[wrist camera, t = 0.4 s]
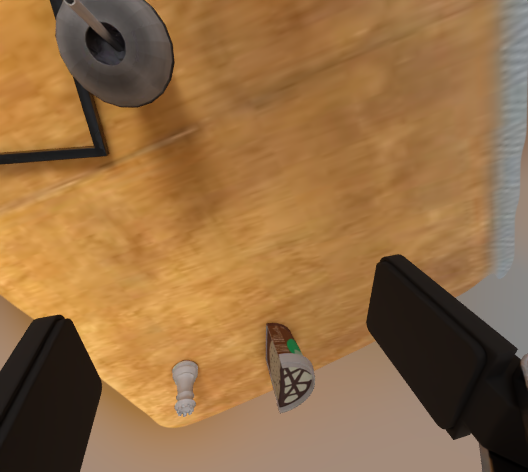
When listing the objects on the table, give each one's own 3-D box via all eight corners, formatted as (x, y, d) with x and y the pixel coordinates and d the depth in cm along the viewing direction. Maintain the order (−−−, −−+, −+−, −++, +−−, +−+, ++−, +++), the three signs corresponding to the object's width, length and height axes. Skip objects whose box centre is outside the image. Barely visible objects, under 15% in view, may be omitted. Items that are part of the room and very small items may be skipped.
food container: (295, 358, 58) (314, 407, 49) (265, 364, 56) (279, 415, 48) (299, 311, 52) (322, 357, 43) (266, 317, 51) (282, 365, 42)
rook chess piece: (190, 355, 51) (190, 398, 44) (202, 368, 53) (205, 411, 46) (167, 366, 51) (164, 411, 44) (181, 379, 53) (180, 424, 46)
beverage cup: (118, 104, 31) (34, 132, 14) (89, 22, 28) (-70, -77, 10) (185, 94, 32) (185, 108, 15) (167, 13, 29) (138, -90, 11)
